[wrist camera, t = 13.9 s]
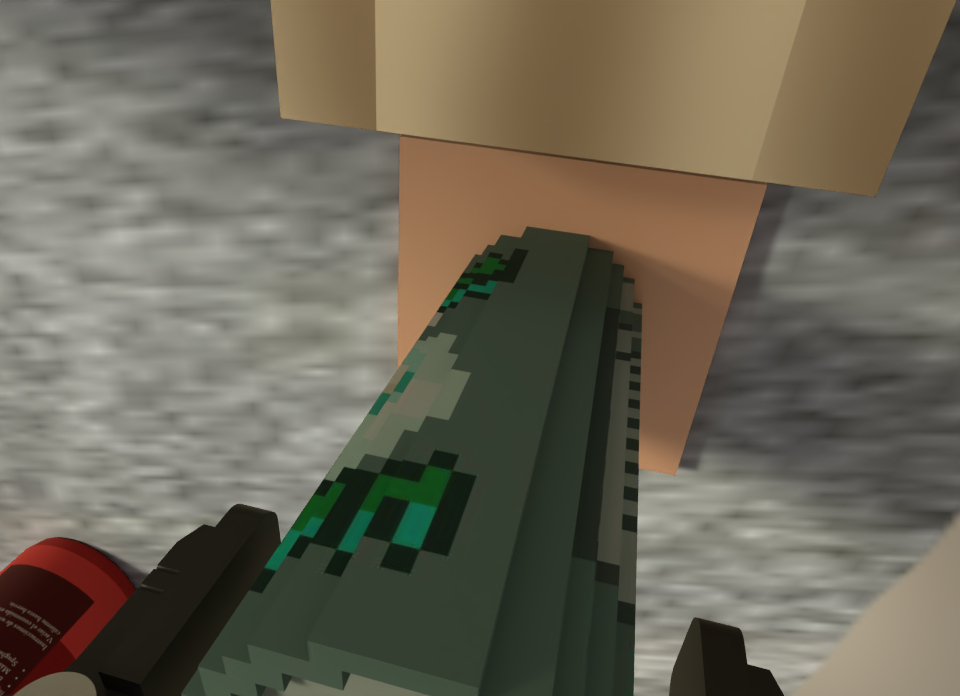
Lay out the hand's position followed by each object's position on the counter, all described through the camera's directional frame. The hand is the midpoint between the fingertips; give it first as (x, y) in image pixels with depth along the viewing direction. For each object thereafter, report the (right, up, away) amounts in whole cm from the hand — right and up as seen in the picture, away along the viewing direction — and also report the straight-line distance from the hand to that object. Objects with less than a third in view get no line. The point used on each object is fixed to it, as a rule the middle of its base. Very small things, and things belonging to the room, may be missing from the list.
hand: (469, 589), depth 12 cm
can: (+3, +6, +10) cm, 12 cm away
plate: (+3, +6, +10) cm, 12 cm away
